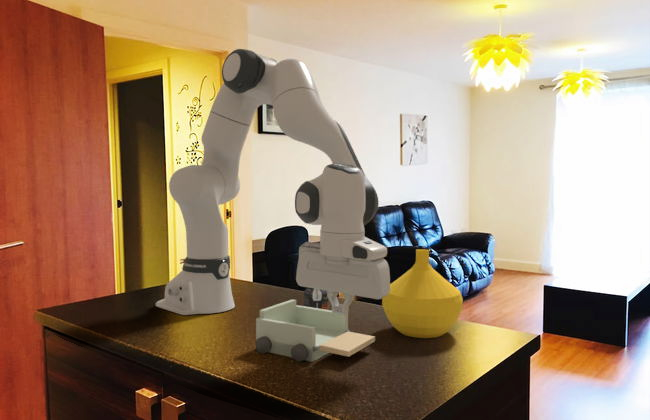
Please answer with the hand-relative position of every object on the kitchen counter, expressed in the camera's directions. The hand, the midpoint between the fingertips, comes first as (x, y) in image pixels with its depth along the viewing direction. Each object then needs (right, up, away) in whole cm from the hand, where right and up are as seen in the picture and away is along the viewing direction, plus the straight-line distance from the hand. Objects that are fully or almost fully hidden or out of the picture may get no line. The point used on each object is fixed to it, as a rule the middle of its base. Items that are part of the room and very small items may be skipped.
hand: (340, 313), depth 105 cm
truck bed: (-8, -8, +6) cm, 13 cm away
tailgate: (-1, -6, +2) cm, 6 cm away
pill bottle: (-5, -7, +20) cm, 22 cm away
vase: (+19, -8, +16) cm, 26 cm away
